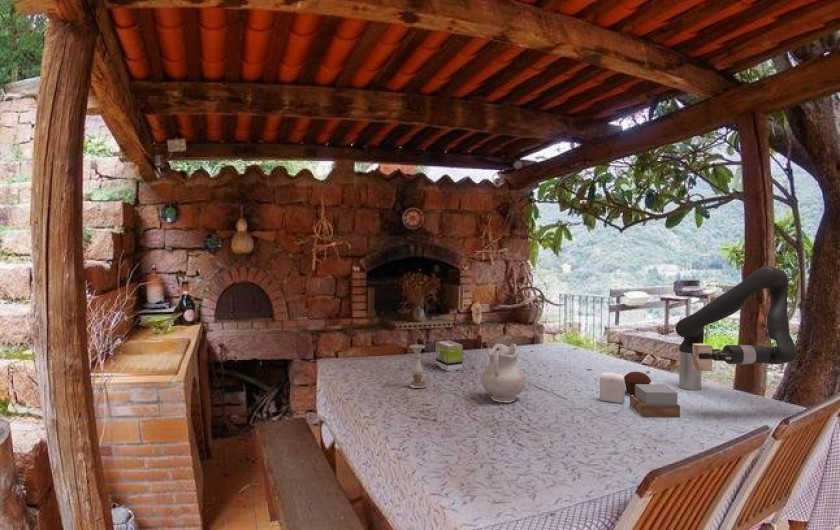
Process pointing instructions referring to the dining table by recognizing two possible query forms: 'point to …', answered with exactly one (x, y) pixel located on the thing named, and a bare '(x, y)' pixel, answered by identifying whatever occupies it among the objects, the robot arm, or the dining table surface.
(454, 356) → the tea box
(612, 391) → the photo printer
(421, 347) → the candle holder
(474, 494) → the dining table surface
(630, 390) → the muffin
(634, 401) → the walnut base block
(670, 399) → the slate top block
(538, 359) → the dining table surface
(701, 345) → the birch pillar block
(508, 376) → the ceramic pitcher
